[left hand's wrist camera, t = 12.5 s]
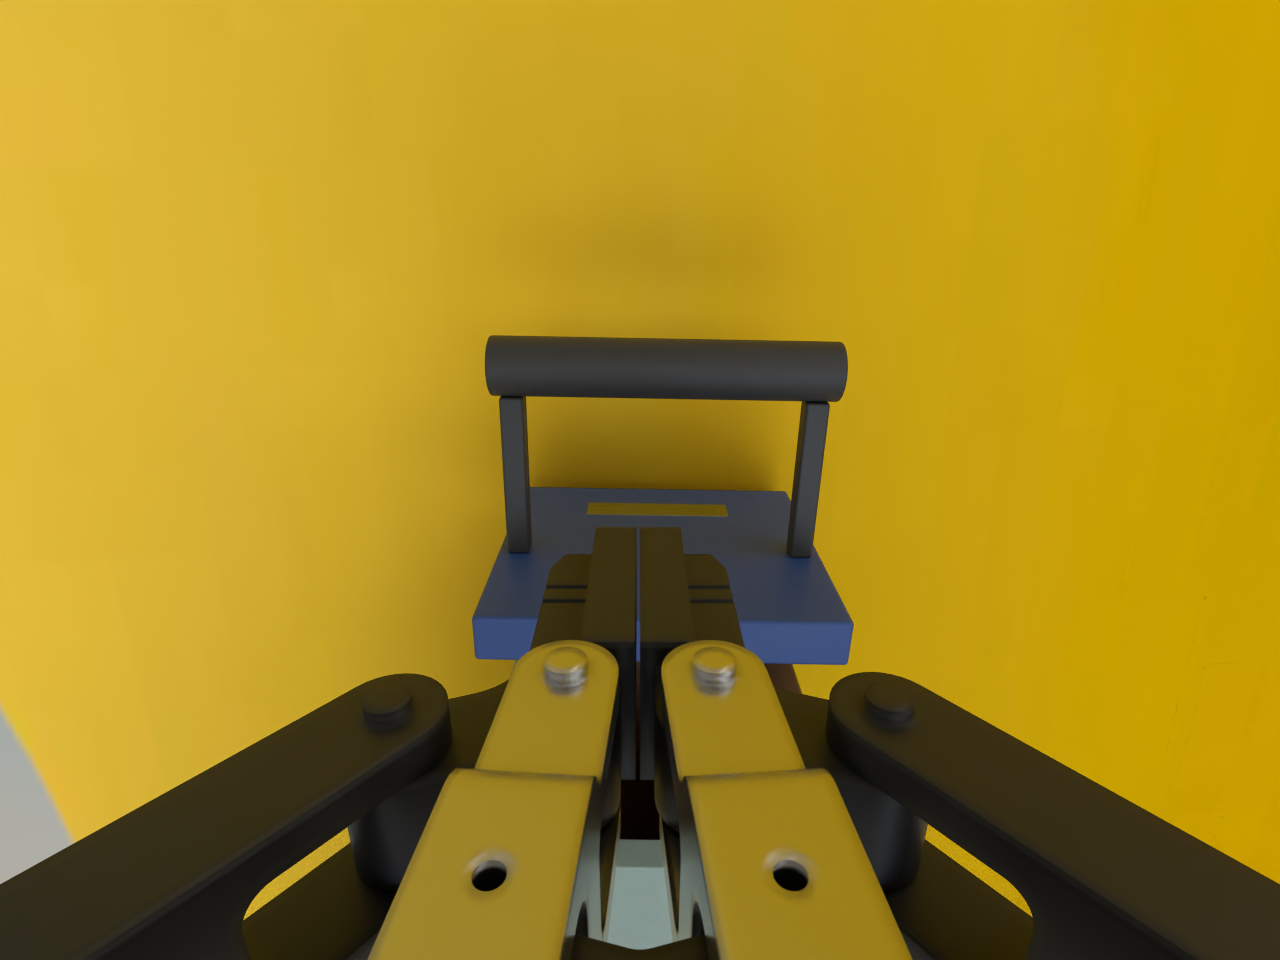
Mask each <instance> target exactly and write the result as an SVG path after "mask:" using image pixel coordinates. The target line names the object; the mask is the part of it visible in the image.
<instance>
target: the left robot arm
mask: <svg viewBox="0 0 1280 960" xmlns="http://www.w3.org/2000/svg"><path fill="white" fill-rule="evenodd" d="M636 647H637V542H636V527H596V529H595V537H594V544H593V551H592V554H565V555H564V556H563V557H562V558H561V559H560V560H559V561H558V562H557V563H556V564H554V565H553V566H552V567H551V568H550V571H549V575H548V579H547V583H546V589H545V591H544V595H543V602H542V603H541V607H540V611H539V616H538V620H537V624H536V628H535V632H534V636H533V640H532V644H531V648H530V651H529V652H527V653H526V654H525V655H524V656H522V657H521V658H520V660H519V661H518V662H517V663H516V665H515V667H514V669H513V672H512V674H511V677H510V679H509V680H507V681H506V682H504V683H502V684H500V685H498V686H496V687H494V688H491V689H489V690H486V691H482V692H479V693H475V694H470V695H466V696H461V697H457V698H452V699H448V695H447V693H446V690H445V689H444V687H443V686H442V685H441V684H440V683H439V682H438V681H436V680H434V679H432V678H430V677H427V676H424V675H418V674H394V675H388V676H383V677H380V678H376V679H373V680H371V681H368V682H366V683H364V684H362V685H360V686H357V687H356V688H354V689H352V690H350V691H348V692H347V693H345V694H343V695H341V696H339V697H338V698H336V699H334V700H332V701H330V702H329V703H327V704H325V705H323V706H321V707H320V708H318V709H316V710H314V711H312V712H311V713H309V714H307V715H305V716H303V717H301V718H300V719H298V720H296V721H294V722H292V723H291V724H289V725H287V726H285V727H283V728H282V729H280V730H278V731H276V732H274V733H273V734H271V735H269V736H267V737H265V738H264V739H262V740H260V741H258V742H256V743H255V744H253V745H251V746H249V747H247V748H246V749H244V750H242V751H240V752H238V753H237V754H235V755H233V756H231V757H229V758H227V759H226V760H224V761H222V762H220V763H218V764H217V765H215V766H213V767H211V768H209V769H208V770H206V771H204V772H202V773H200V774H199V775H197V776H195V777H193V778H191V779H190V780H188V781H186V782H184V783H182V784H181V785H179V786H177V787H175V788H173V789H172V790H170V791H168V792H166V793H164V794H163V795H161V796H159V797H157V798H155V799H154V800H152V801H150V802H148V803H146V804H144V805H143V806H141V807H139V808H137V809H135V810H134V811H132V812H130V813H128V814H126V815H125V816H123V817H121V818H119V819H117V820H116V821H114V822H112V823H110V824H108V825H107V826H105V827H103V828H101V829H99V830H98V831H96V832H94V833H92V834H90V835H89V836H87V837H85V838H83V839H81V840H80V841H78V842H76V843H74V844H72V845H70V846H69V847H67V848H65V849H63V850H62V851H60V852H58V853H56V854H54V855H52V856H51V857H49V858H47V859H45V860H43V861H42V862H40V863H38V864H36V865H34V866H33V867H31V868H29V869H27V870H26V871H24V872H22V873H20V874H18V875H16V876H15V877H13V878H11V879H9V880H7V881H6V882H4V883H2V884H0V960H1280V884H1278V883H1276V882H1274V881H1273V880H1271V879H1269V878H1267V877H1265V876H1264V875H1262V874H1260V873H1258V872H1256V871H1255V870H1253V869H1251V868H1249V867H1247V866H1246V865H1244V864H1242V863H1240V862H1238V861H1237V860H1235V859H1233V858H1231V857H1229V856H1228V855H1226V854H1224V853H1222V852H1220V851H1219V850H1217V849H1215V848H1213V847H1211V846H1209V845H1208V844H1206V843H1204V842H1202V841H1200V840H1199V839H1197V838H1195V837H1193V836H1191V835H1190V834H1188V833H1186V832H1184V831H1182V830H1181V829H1179V828H1177V827H1175V826H1173V825H1172V824H1170V823H1168V822H1166V821H1164V820H1163V819H1161V818H1159V817H1157V816H1155V815H1154V814H1152V813H1150V812H1148V811H1146V810H1145V809H1143V808H1141V807H1139V806H1137V805H1135V804H1134V803H1132V802H1130V801H1128V800H1126V799H1125V798H1123V797H1121V796H1119V795H1117V794H1116V793H1114V792H1112V791H1110V790H1108V789H1107V788H1105V787H1103V786H1101V785H1099V784H1098V783H1096V782H1094V781H1092V780H1090V779H1089V778H1087V777H1085V776H1083V775H1081V774H1080V773H1078V772H1076V771H1074V770H1072V769H1071V768H1069V767H1067V766H1065V765H1063V764H1062V763H1060V762H1058V761H1056V760H1054V759H1052V758H1051V757H1049V756H1047V755H1045V754H1043V753H1042V752H1040V751H1038V750H1036V749H1034V748H1033V747H1031V746H1029V745H1027V744H1025V743H1024V742H1022V741H1020V740H1018V739H1016V738H1015V737H1013V736H1011V735H1009V734H1007V733H1006V732H1004V731H1002V730H1000V729H998V728H997V727H995V726H993V725H991V724H989V723H988V722H986V721H984V720H982V719H980V718H978V717H977V716H975V715H973V714H971V713H969V712H968V711H966V710H964V709H962V708H960V707H959V706H957V705H955V704H953V703H951V702H950V701H948V700H946V699H944V698H942V697H941V696H939V695H937V694H935V693H933V692H932V691H930V690H928V689H926V688H924V687H923V686H921V685H919V684H917V683H915V682H913V681H911V680H908V679H905V678H903V677H899V676H896V675H892V674H886V673H878V672H863V673H856V674H852V675H849V676H846V677H844V678H842V679H841V680H839V681H838V682H837V683H836V684H835V685H834V686H833V688H832V690H831V692H830V697H829V700H826V699H822V698H817V697H812V696H808V695H803V694H799V693H795V692H792V691H789V690H786V689H783V688H781V687H778V686H776V685H774V684H772V682H771V679H770V677H769V674H768V672H767V669H766V667H765V665H764V663H763V662H762V661H761V660H760V658H759V657H758V656H756V655H755V654H754V653H753V652H751V651H749V650H748V649H746V648H745V646H744V642H743V637H742V633H741V629H740V625H739V621H738V616H737V612H736V608H735V604H734V602H733V595H732V591H731V589H730V583H729V579H728V574H727V570H726V568H725V567H724V566H723V565H722V564H721V563H720V562H719V561H717V560H716V559H715V558H714V557H713V556H712V555H711V554H684V550H683V542H682V534H681V527H640V780H654V790H655V804H656V808H657V810H658V813H659V832H660V841H661V849H662V857H663V866H664V874H665V882H666V890H667V899H668V907H669V915H670V924H671V932H672V940H673V942H672V943H669V944H665V945H661V946H657V947H654V948H649V949H631V948H626V947H623V946H619V945H615V944H611V943H608V942H607V940H608V932H609V924H610V915H611V907H612V899H613V890H614V882H615V874H616V866H617V857H618V849H619V841H620V832H621V806H620V797H621V780H635V772H636ZM928 824H929V825H930V826H932V827H933V828H935V829H936V830H938V831H939V832H940V833H942V834H943V835H945V836H946V837H947V838H949V839H950V840H952V841H953V842H954V843H956V844H957V845H959V846H960V847H962V848H963V849H964V850H966V851H967V852H969V853H970V854H971V855H973V856H974V857H976V858H977V859H978V860H980V861H981V862H983V863H984V864H986V865H987V866H988V867H990V868H991V869H993V870H994V871H995V872H997V873H998V874H1000V875H1001V876H1002V877H1004V878H1005V879H1006V880H1008V881H1009V882H1010V883H1011V884H1012V885H1013V886H1014V887H1015V888H1016V889H1017V890H1018V891H1019V892H1020V894H1021V895H1022V896H1023V898H1024V899H1025V901H1026V902H1027V904H1028V906H1029V908H1030V910H1031V913H1032V916H1033V918H1032V917H1031V916H1030V915H1028V914H1027V913H1026V912H1024V911H1023V910H1021V909H1020V908H1019V907H1017V906H1016V905H1015V904H1013V903H1012V902H1010V901H1009V900H1008V899H1006V898H1005V897H1004V896H1002V895H1001V894H999V893H998V892H997V891H995V890H994V889H993V888H991V887H990V886H988V885H987V884H986V883H984V882H983V881H982V880H980V879H979V878H977V877H976V876H975V875H973V874H972V873H971V872H969V871H968V870H966V869H965V868H964V867H962V866H961V865H960V864H958V863H957V862H956V861H954V860H953V859H951V858H950V857H949V856H947V855H946V854H945V853H943V852H942V851H940V850H939V849H938V848H936V847H935V846H934V845H932V844H931V843H929V842H928V841H927V840H925V835H926V830H927V825H928ZM347 827H348V832H349V837H350V841H351V843H349V844H348V845H346V846H345V847H344V848H342V849H341V850H340V851H338V852H337V853H335V854H334V855H333V856H331V857H330V858H329V859H327V860H326V861H324V862H323V863H322V864H320V865H319V866H318V867H316V868H315V869H313V870H312V871H311V872H309V873H308V874H307V875H305V876H304V877H303V878H301V879H300V880H298V881H297V882H296V883H294V884H293V885H292V886H290V887H289V888H287V889H286V890H285V891H283V892H282V893H281V894H279V895H278V896H276V897H275V898H274V899H272V900H271V901H270V902H268V903H267V904H265V905H264V906H263V907H261V908H260V909H259V910H257V911H256V912H254V913H253V914H252V915H250V916H249V917H248V918H246V919H245V920H243V918H244V915H245V913H246V911H247V909H248V907H249V905H250V903H251V902H252V901H253V899H254V898H255V896H256V895H257V894H258V893H259V892H260V891H261V890H262V889H263V888H264V887H265V886H266V885H267V884H268V883H269V882H271V881H272V880H273V879H275V878H276V877H277V876H279V875H280V874H282V873H283V872H285V871H286V870H287V869H289V868H290V867H292V866H293V865H294V864H296V863H297V862H299V861H300V860H301V859H303V858H304V857H306V856H307V855H309V854H310V853H311V852H313V851H314V850H316V849H317V848H318V847H320V846H321V845H323V844H324V843H325V842H327V841H328V840H330V839H331V838H333V837H334V836H335V835H337V834H338V833H340V832H341V831H342V830H344V829H345V828H347Z"/></svg>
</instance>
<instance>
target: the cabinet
mask: <svg viewBox="0 0 1280 960" xmlns="http://www.w3.org/2000/svg"><path fill="white" fill-rule="evenodd" d="M518 661H519V660H515V662H514V666H513V669H514V667H515V665H516V663H517V662H518ZM513 669H512V672H513ZM511 674H512V673H511ZM607 942H608V943H611V944H615V945H619V946H623V947H626V948H631V949H649V948H654V947H657V946H661V945H665V944H669V943H672V942H673V940H672V932H671V924H670V915H669V907H668V899H667V890H666V882H665V874H664V866H663V857H662V849H661V841H660V840H634V839H620V841H619V849H618V857H617V866H616V874H615V882H614V890H613V899H612V907H611V915H610V924H609V932H608V940H607Z"/></svg>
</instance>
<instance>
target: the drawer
mask: <svg viewBox="0 0 1280 960" xmlns="http://www.w3.org/2000/svg"><path fill="white" fill-rule="evenodd" d="M847 373H848V360H847V352H846V348H845V346H844V344H843V343H841V342H819V341H765V340H712V339H658V338H604V337H550V336H497V335H492V336H490V337H489V338H488V341H487V345H486V352H485V375H486V383H487V387H488V391H489V393H490V394H491V395H493V396H501V397H500V399H499V407H500V424H501V442H502V459H503V477H504V494H505V512H506V529H507V534H506V537H505V539H504V542H503V544H502V547H501V549H500V551H499V554H498V556H497V559H496V561H495V564H494V566H493V569H492V571H491V573H490V576H489V578H488V581H487V583H486V586H485V588H484V591H483V593H482V595H481V598H480V600H479V603H478V605H477V608H476V610H475V613H474V615H473V618H472V623H473V636H474V648H475V656H476V658H477V659H506V660H520V658H521V657H522V656H524V655H525V654H526V653H527V652H529V651H530V648H531V644H532V640H533V636H534V632H535V628H536V624H537V620H538V616H539V611H540V607H541V603H542V602H543V595H544V591H545V589H546V583H547V579H548V575H549V571H550V568H551V567H552V566H553V565H554V564H556V563H557V562H558V561H559V560H560V559H561V558H562V557H563V556H564V555H565V554H592V551H593V544H594V537H595V529H596V527H636V542H637V647H636V772H635V780H621V797H620V806H621V832H620V839H634V840H660V832H659V813H658V810H657V808H656V804H655V790H654V780H640V527H681V534H682V542H683V550H684V554H711V555H712V556H713V557H714V558H715V559H716V560H717V561H719V562H720V563H721V564H722V565H723V566H724V567H725V568H726V570H727V574H728V579H729V583H730V589H731V591H732V595H733V602H734V604H735V608H736V612H737V616H738V621H739V625H740V629H741V633H742V637H743V642H744V646H745V648H746V649H748V650H749V651H751V652H753V653H754V654H755V655H756V656H758V657H759V658H760V660H761V661H762V662H763V663H764V665H765V667H766V669H767V672H768V674H769V677H770V679H771V682H772V684H774V685H776V686H778V687H781V688H783V689H786V690H789V691H792V692H795V693H799V694H802V692H801V689H800V686H799V683H798V680H797V677H796V674H795V671H794V668H793V665H792V664H829V665H845V664H847V663H848V658H849V651H850V645H851V638H852V631H853V625H854V624H853V622H852V620H851V618H850V616H849V614H848V612H847V610H846V608H845V606H844V604H843V602H842V600H841V598H840V596H839V594H838V592H837V590H836V588H835V586H834V585H833V583H832V581H831V579H830V577H829V575H828V573H827V571H826V569H825V567H824V565H823V563H822V561H821V559H820V557H819V555H818V553H817V551H816V549H815V548H814V546H813V539H814V530H815V522H816V514H817V506H818V498H819V490H820V481H821V473H822V465H823V457H824V449H825V441H826V432H827V424H828V416H829V408H830V405H829V403H828V402H837V401H839V400H840V399H841V398H842V396H843V393H844V390H845V386H846V381H847ZM526 396H542V397H598V398H653V399H709V400H764V401H802V406H801V415H800V424H799V434H798V443H797V452H796V462H795V471H794V480H793V490H792V499H791V501H790V499H789V497H788V495H787V493H786V492H784V491H729V490H671V489H612V488H554V487H530V481H529V458H528V435H527V411H526Z"/></svg>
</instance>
